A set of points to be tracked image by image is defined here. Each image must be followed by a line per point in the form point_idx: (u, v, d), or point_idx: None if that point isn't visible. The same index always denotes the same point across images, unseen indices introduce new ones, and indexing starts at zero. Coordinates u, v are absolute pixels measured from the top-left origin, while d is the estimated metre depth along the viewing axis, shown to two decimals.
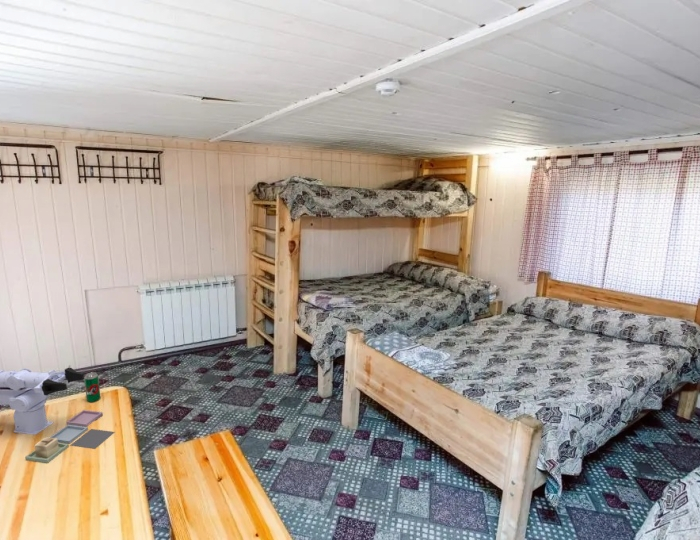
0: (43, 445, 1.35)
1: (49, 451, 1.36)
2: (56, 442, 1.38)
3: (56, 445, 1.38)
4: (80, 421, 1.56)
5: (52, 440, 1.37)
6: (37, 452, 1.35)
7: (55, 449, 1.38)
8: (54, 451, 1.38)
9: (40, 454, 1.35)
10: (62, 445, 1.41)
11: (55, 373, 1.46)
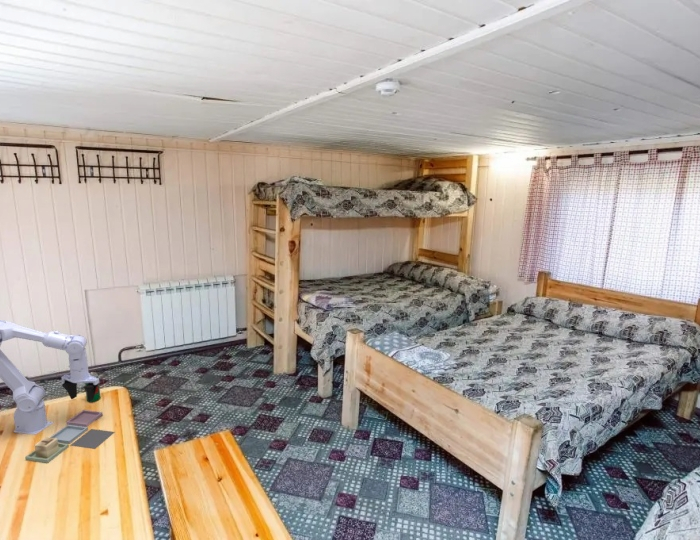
0: (43, 445, 1.35)
1: (49, 451, 1.36)
2: (56, 442, 1.38)
3: (56, 445, 1.38)
4: (80, 421, 1.56)
5: (52, 440, 1.37)
6: (37, 452, 1.35)
7: (55, 449, 1.38)
8: (54, 451, 1.38)
9: (40, 454, 1.35)
10: (62, 445, 1.41)
11: None
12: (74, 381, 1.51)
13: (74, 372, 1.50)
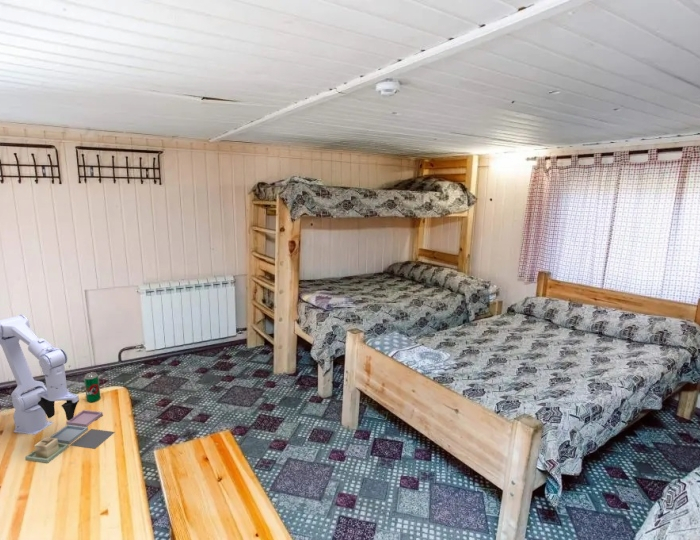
0: (43, 445, 1.35)
1: (49, 451, 1.36)
2: (56, 442, 1.38)
3: (56, 445, 1.38)
4: (80, 421, 1.56)
5: (52, 440, 1.37)
6: (37, 452, 1.35)
7: (55, 449, 1.38)
8: (54, 451, 1.38)
9: (40, 454, 1.35)
10: (62, 445, 1.41)
11: None
12: (51, 399, 1.38)
13: (51, 389, 1.38)
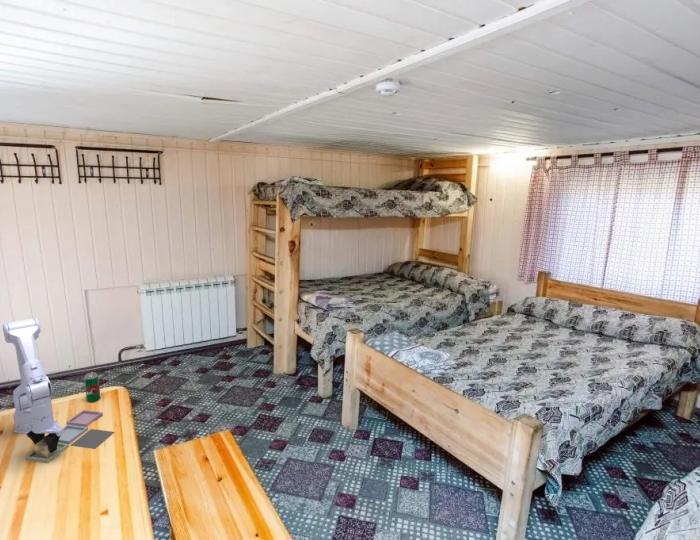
0: (43, 445, 1.35)
1: None
2: None
3: None
4: (80, 421, 1.56)
5: None
6: (37, 452, 1.35)
7: None
8: (54, 451, 1.38)
9: (40, 454, 1.35)
10: (62, 445, 1.41)
11: None
12: (35, 431, 1.33)
13: (35, 421, 1.32)
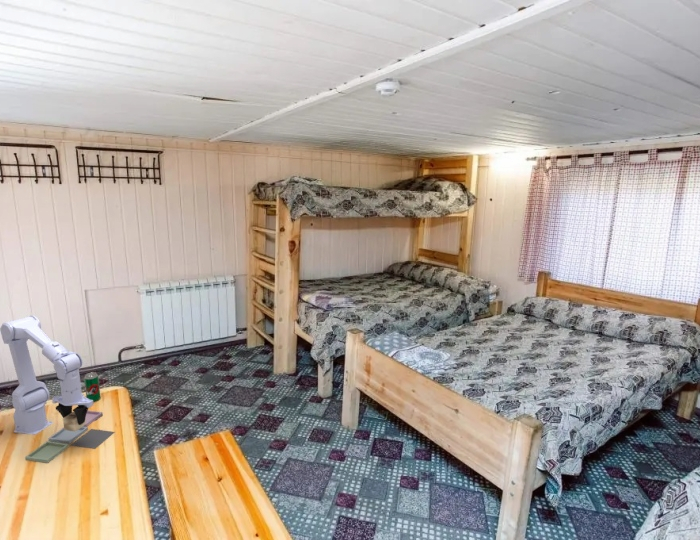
0: (71, 418, 1.39)
1: (77, 424, 1.39)
2: None
3: None
4: None
5: None
6: (65, 425, 1.39)
7: None
8: (81, 425, 1.41)
9: (68, 427, 1.39)
10: (62, 445, 1.41)
11: None
12: (65, 404, 1.37)
13: (65, 394, 1.36)
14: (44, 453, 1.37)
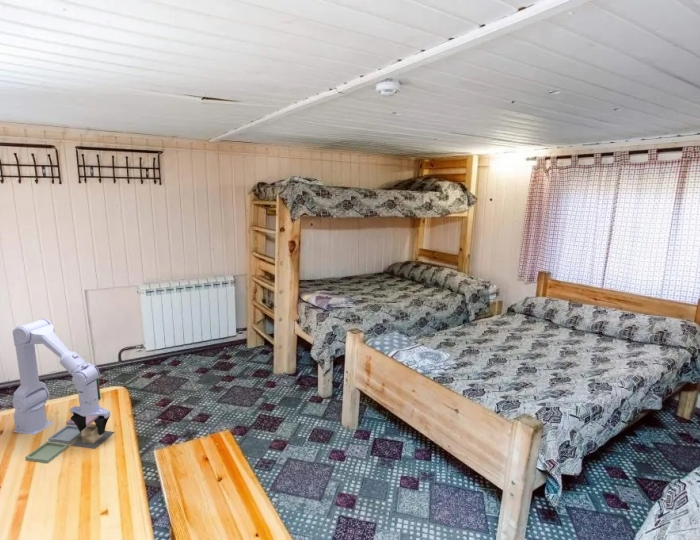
0: (89, 431, 1.43)
1: (95, 436, 1.44)
2: None
3: None
4: None
5: None
6: (83, 438, 1.44)
7: (99, 435, 1.46)
8: (99, 437, 1.46)
9: (86, 439, 1.44)
10: (62, 445, 1.41)
11: None
12: (84, 414, 1.41)
13: (84, 405, 1.40)
14: (44, 453, 1.37)
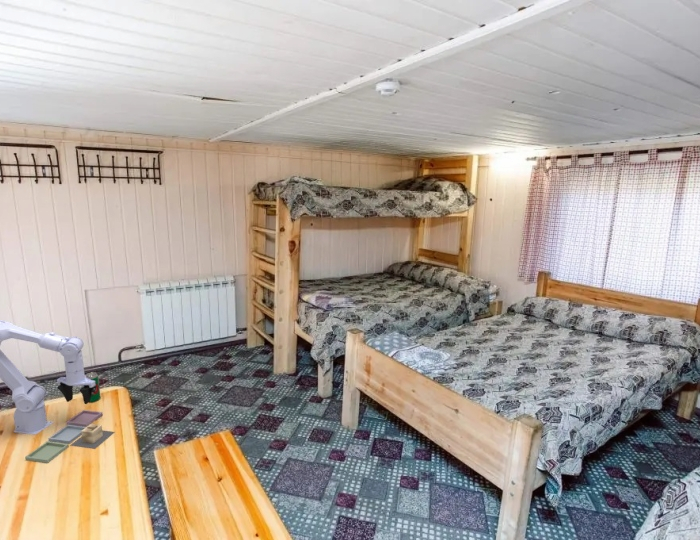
0: (89, 431, 1.43)
1: (95, 436, 1.44)
2: (100, 428, 1.47)
3: (100, 431, 1.47)
4: (80, 421, 1.56)
5: (97, 426, 1.46)
6: (83, 438, 1.44)
7: (99, 435, 1.46)
8: (99, 437, 1.46)
9: (86, 439, 1.44)
10: (62, 445, 1.41)
11: None
12: (70, 384, 1.49)
13: (70, 374, 1.48)
14: (44, 453, 1.37)
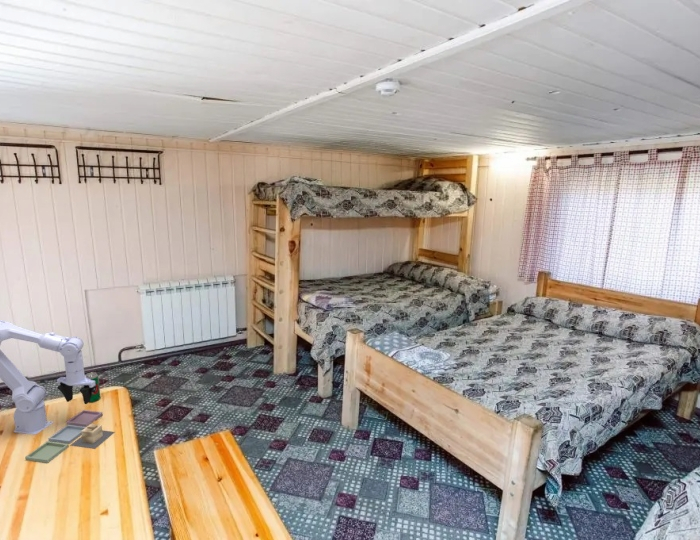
0: (89, 431, 1.43)
1: (95, 436, 1.44)
2: (100, 428, 1.47)
3: (100, 431, 1.47)
4: (80, 421, 1.56)
5: (97, 426, 1.46)
6: (83, 438, 1.44)
7: (99, 435, 1.46)
8: (99, 437, 1.46)
9: (86, 439, 1.44)
10: (62, 445, 1.41)
11: None
12: (70, 384, 1.49)
13: (70, 374, 1.48)
14: (44, 453, 1.37)
